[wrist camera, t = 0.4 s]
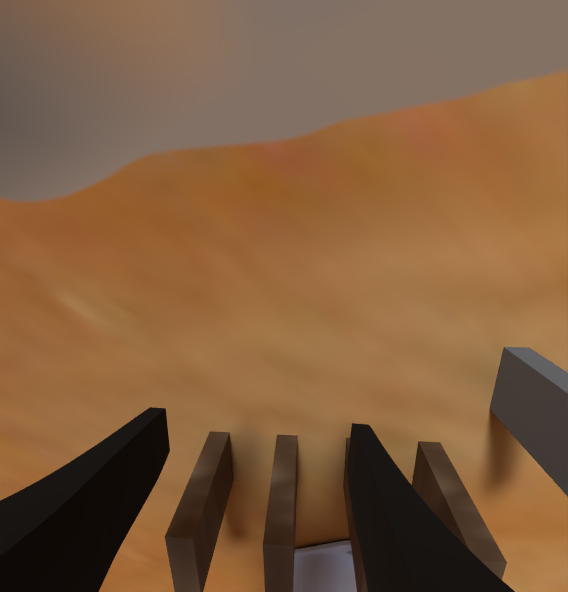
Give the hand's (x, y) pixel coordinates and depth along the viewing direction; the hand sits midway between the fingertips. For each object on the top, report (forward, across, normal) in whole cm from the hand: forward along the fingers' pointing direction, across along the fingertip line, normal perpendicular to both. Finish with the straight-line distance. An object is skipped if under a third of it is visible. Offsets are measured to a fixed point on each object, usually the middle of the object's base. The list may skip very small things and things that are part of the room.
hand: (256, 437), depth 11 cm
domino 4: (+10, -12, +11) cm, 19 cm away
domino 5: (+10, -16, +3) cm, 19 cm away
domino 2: (+10, -1, +12) cm, 15 cm away
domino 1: (+10, +5, +12) cm, 16 cm away
